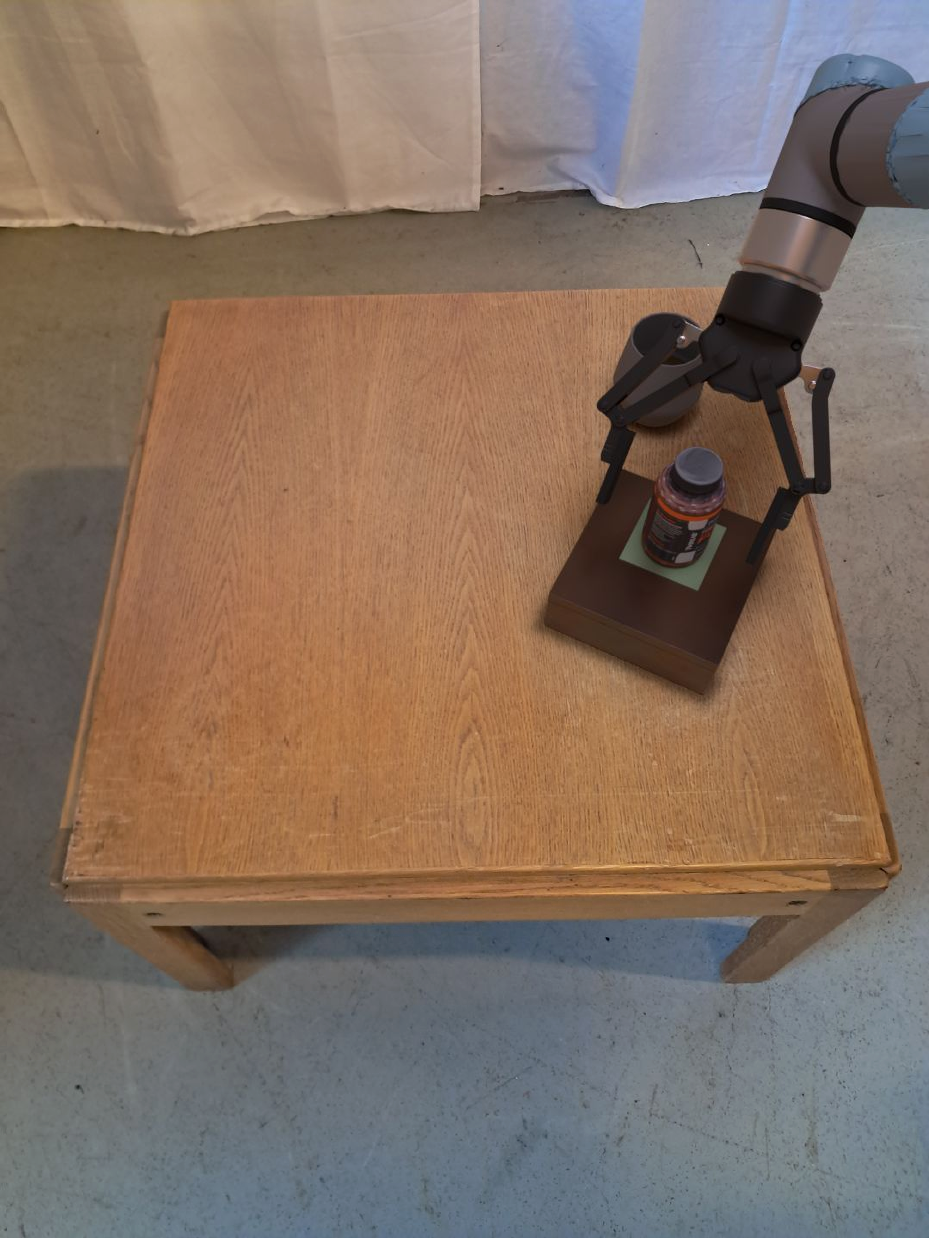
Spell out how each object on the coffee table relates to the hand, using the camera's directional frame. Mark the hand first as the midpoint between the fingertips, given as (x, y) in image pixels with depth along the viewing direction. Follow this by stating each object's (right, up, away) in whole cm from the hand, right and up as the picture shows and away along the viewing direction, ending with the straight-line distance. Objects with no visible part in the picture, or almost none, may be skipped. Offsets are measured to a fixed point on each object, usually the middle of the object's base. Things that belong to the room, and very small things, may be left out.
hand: (674, 531), depth 78 cm
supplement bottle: (+1, -1, +6) cm, 6 cm away
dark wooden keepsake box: (0, -5, +10) cm, 11 cm away
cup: (+2, +16, +21) cm, 27 cm away
